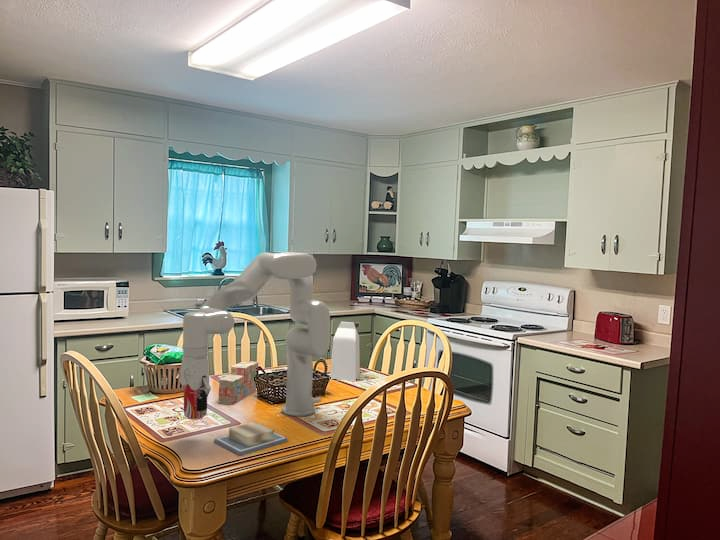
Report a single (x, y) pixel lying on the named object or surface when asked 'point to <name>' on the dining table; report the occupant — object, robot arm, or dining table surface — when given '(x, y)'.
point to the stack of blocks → (238, 383)
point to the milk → (345, 353)
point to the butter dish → (250, 438)
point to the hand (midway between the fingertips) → (195, 406)
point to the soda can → (192, 404)
